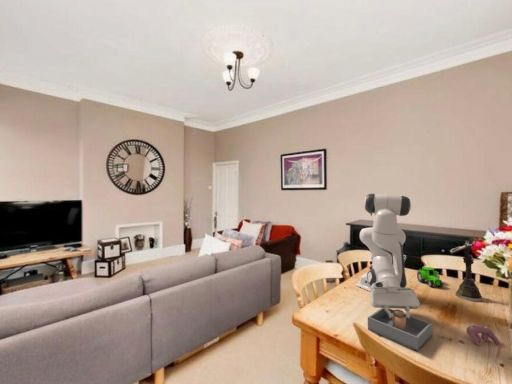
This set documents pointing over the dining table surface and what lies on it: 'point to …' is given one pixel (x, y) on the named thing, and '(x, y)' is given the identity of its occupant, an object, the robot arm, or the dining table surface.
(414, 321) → the bin
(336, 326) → the dining table surface
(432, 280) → the toy tractor
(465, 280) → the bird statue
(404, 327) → the jar
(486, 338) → the purple animal figurine
